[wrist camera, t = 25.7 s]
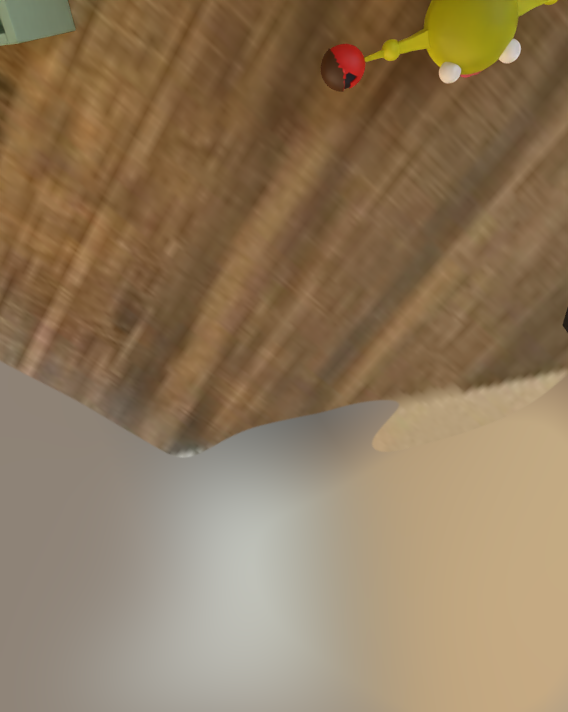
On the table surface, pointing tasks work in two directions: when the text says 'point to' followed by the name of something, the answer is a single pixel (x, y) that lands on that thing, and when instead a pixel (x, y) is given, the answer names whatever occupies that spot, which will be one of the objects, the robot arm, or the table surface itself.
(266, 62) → the table surface
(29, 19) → the green basket
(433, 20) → the toy figure
